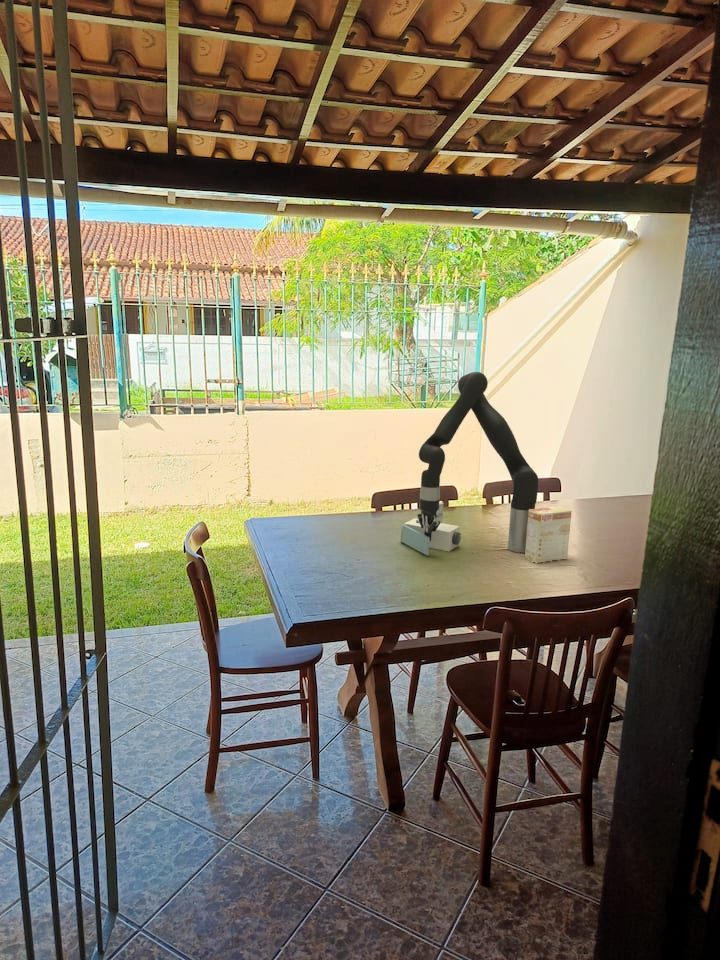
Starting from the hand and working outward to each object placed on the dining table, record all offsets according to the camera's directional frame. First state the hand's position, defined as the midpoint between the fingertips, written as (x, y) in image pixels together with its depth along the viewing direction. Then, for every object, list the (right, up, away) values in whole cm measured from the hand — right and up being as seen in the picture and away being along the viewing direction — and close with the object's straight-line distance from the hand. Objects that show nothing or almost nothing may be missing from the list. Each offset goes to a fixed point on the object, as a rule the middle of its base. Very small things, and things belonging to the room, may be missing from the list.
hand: (427, 540), depth 241 cm
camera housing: (+3, -2, +12) cm, 13 cm away
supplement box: (+5, +1, +30) cm, 31 cm away
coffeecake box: (+45, -7, -2) cm, 46 cm away
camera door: (-5, -3, +5) cm, 8 cm away
